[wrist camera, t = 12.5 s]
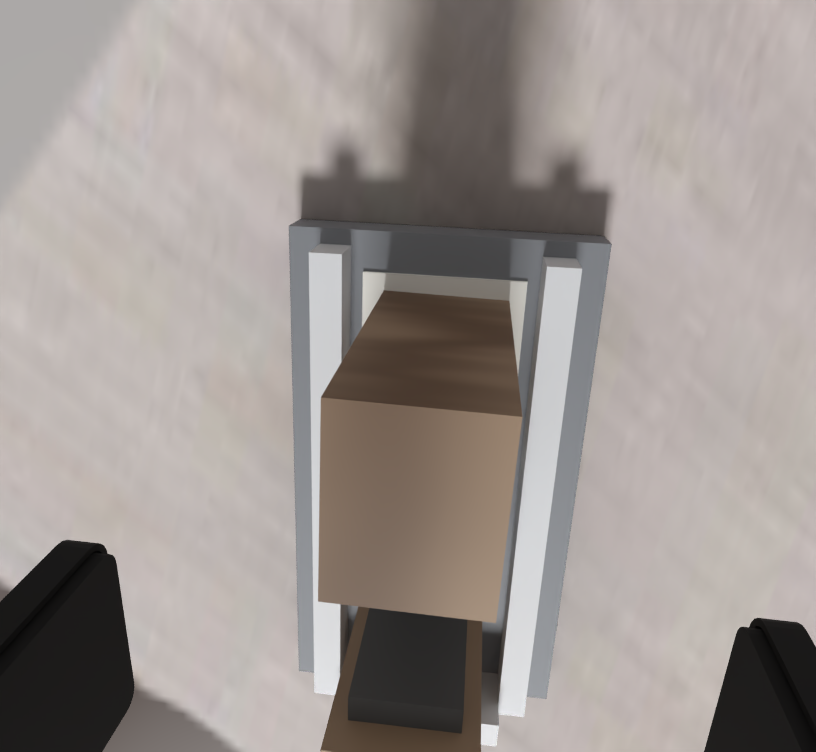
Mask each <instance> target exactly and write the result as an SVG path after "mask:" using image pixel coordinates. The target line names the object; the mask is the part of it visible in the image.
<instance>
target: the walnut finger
mask: <svg viewBox="0 0 816 752" xmlns="http://www.w3.org/2000/svg"><path fill="white" fill-rule="evenodd" d="M521 424H522V408H521V399H520V391H519V382H518V373H517V364H516V355H515V346H514V337H513V329H512V320H511V311H510V302H509V301H506V300H494V299H482V298H470V297H458V296H446V295H434V294H422V293H410V292H398V291H386V290H384V291H383V293H382V294H381V296H380V298H379V299H378V301H377V303H376V305H375V306H374V308H373V310H372V311H371V313H370V315H369V316H368V318H367V320H366V321H365V323H364V325H363V327H362V328H361V330H360V332H359V333H358V335H357V337H356V338H355V340H354V342H353V344H352V345H351V347H350V349H349V350H348V352H347V354H346V355H345V357H344V359H343V361H342V362H341V364H340V366H339V367H338V369H337V371H336V372H335V374H334V376H333V378H332V379H331V381H330V383H329V384H328V386H327V388H326V389H325V391H324V393H323V395H322V396H321V417H320V490H319V563H318V602H326V603H334V604H342V605H350V606H359V607H367V608H375V609H384V610H392V611H400V612H408V613H417V614H425V615H433V616H442V617H450V618H458V619H467V620H475V621H483V622H491V623H496V619H497V611H498V603H499V595H500V588H501V580H502V572H503V564H504V556H505V549H506V541H507V533H508V525H509V518H510V510H511V502H512V494H513V487H514V479H515V471H516V463H517V456H518V448H519V440H520V432H521Z"/></svg>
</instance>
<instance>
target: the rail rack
mask: <svg viewBox="0 0 816 752" xmlns="http://www.w3.org/2000/svg"><path fill="white" fill-rule="evenodd" d="M611 245H612V244H611V243H610V242H609V241H608V240H607V239H606V238H605V237H604V236H595V235H577V234H559V233H541V232H523V231H505V230H487V229H470V228H452V227H434V226H416V225H398V224H380V223H362V222H344V221H326V220H308V219H300V220H298V221H297V222H295V223H293V224H291V225H289V253H290V297H291V341H292V385H293V429H294V473H295V517H296V561H297V604H298V648H299V671H304V672H313V673H314V693H320V694H329V695H335V697H334V701H333V705H332V709H331V713H330V716H329V720H328V724H327V728H326V732H325V735H324V739H323V743H322V747H321V752H481V745H488V746H496V745H497V736H498V727H499V716H498V714H501V715H510V716H519V717H524V713H525V705H526V698H527V697H533V698H542V699H546V698H547V691H548V684H549V677H550V670H551V663H552V656H553V649H554V642H555V635H556V628H557V621H558V614H559V607H560V600H561V593H562V586H563V579H564V573H565V566H566V559H567V552H568V545H569V538H570V531H571V524H572V517H573V510H574V503H575V496H576V489H577V482H578V475H579V468H580V461H581V454H582V447H583V440H584V433H585V426H586V419H587V412H588V405H589V398H590V391H591V384H592V377H593V370H594V363H595V356H596V349H597V343H598V336H599V329H600V322H601V315H602V308H603V301H604V294H605V287H606V280H607V273H608V266H609V259H610V252H611ZM384 290H386V291H398V292H410V293H422V294H434V295H446V296H458V297H470V298H482V299H494V300H506V301H509V302H510V311H511V320H512V329H513V337H514V346H515V355H516V364H517V373H518V382H519V391H520V399H521V408H522V424H521V432H520V440H519V448H518V456H517V463H516V471H515V479H514V487H513V494H512V502H511V510H510V518H509V525H508V533H507V541H506V549H505V556H504V564H503V572H502V580H501V588H500V595H499V603H498V611H497V619H496V623H491V622H483V621H475V620H467V619H458V618H450V617H442V616H433V615H425V614H417V613H408V612H400V611H392V610H384V609H375V608H367V607H359V606H350V605H342V604H334V603H326V602H318V563H319V490H320V417H321V396H322V395H323V393H324V391H325V389H326V388H327V386H328V384H329V383H330V381H331V379H332V378H333V376H334V374H335V372H336V371H337V369H338V367H339V366H340V364H341V362H342V361H343V359H344V357H345V355H346V354H347V352H348V350H349V349H350V347H351V345H352V344H353V342H354V340H355V338H356V337H357V335H358V333H359V332H360V330H361V328H362V327H363V325H364V323H365V321H366V320H367V318H368V316H369V315H370V313H371V311H372V310H373V308H374V306H375V305H376V303H377V301H378V299H379V298H380V296H381V294H382V293H383V291H384Z"/></svg>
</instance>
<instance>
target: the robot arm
mask: <svg viewBox="0 0 816 752" xmlns="http://www.w3.org/2000/svg"><path fill="white" fill-rule="evenodd" d="M133 693H134V679H133V672H132V665H131V659H130V652H129V645H128V638H127V632H126V625H125V618H124V611H123V605H122V598H121V591H120V584H119V577H118V571H117V564H116V560H115V558H114V556H113V555H110V554H107V550H106V548H105V547H104V545H102V544H99V543H90V542H81V541H72V540H65V541H62V542H61V543H59V544H58V545H57V546H56V547H55V548H54V549H53V550H52V551H51V552H50V553H49V554H48V555H47V556H46V557H45V558H44V559H43V560H42V561H41V562H40V563H39V564H38V565H37V566H36V567H35V568H34V569H33V570H32V571H31V572H30V573H29V574H28V575H27V576H26V577H25V578H24V579H23V580H22V581H21V582H20V583H19V584H18V585H17V586H16V587H15V588H14V589H13V590H12V591H11V592H10V593H9V594H8V595H7V596H6V597H5V598H4V599H3V600H2V601H1V602H0V752H102V751H103V749H104V748H105V746H106V744H107V743H108V741H109V740H110V738H111V736H112V735H113V733H114V731H115V730H116V728H117V727H118V725H119V723H120V722H121V720H122V718H123V717H124V715H125V714H126V712H127V710H128V708H129V706H130V704H131V701H132V698H133ZM704 752H816V647H815V645H814V643H813V641H812V640H811V638H810V636H809V634H808V633H807V631H806V629H805V628H804V627H803V626H802V625H801V624H799V623H798V622H789V621H780V620H771V619H762V618H756V619H754V620H753V621H752V622H751V624H750V627H749V628H748V627H740V628H739V629H738V631H737V634H736V637H735V641H734V644H733V648H732V652H731V655H730V659H729V663H728V666H727V670H726V674H725V677H724V681H723V685H722V688H721V692H720V696H719V699H718V703H717V707H716V710H715V714H714V718H713V721H712V725H711V729H710V732H709V736H708V740H707V743H706V747H705V751H704Z"/></svg>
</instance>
